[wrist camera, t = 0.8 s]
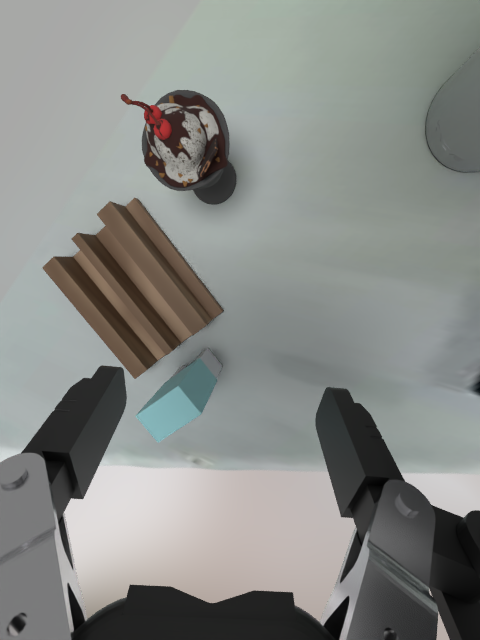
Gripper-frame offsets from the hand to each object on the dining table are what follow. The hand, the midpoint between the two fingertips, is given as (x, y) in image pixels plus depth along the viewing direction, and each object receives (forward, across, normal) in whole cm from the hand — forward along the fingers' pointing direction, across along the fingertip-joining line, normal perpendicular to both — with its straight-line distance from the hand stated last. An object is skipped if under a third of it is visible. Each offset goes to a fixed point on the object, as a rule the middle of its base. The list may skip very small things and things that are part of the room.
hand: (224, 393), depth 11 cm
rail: (+23, +11, +7) cm, 26 cm away
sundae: (+26, +3, -6) cm, 27 cm away
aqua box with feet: (+19, +3, +15) cm, 25 cm away
